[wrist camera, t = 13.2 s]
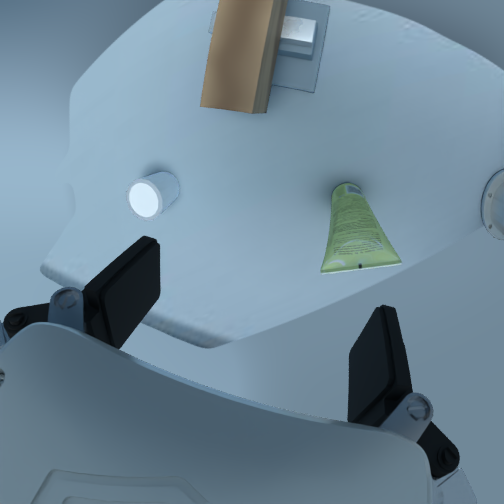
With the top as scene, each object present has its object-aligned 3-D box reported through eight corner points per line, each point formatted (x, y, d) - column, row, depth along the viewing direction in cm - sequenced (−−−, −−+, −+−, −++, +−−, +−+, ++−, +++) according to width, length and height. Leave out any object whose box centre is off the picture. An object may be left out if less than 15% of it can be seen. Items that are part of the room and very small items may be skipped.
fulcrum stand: (329, 9, 26) (330, -14, 19) (313, 93, 33) (312, 87, 26) (233, -2, 28) (213, -23, 20) (217, 78, 35) (193, 72, 28)
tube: (347, 223, 41) (359, 304, 25) (321, 203, 41) (319, 274, 24) (370, 196, 38) (403, 264, 22) (344, 174, 38) (363, 229, 21)
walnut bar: (296, -42, 17) (289, -71, 11) (266, 112, 29) (252, 113, 23) (254, -45, 18) (239, -71, 12) (224, 106, 29) (200, 106, 23)
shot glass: (177, 212, 47) (157, 228, 41) (145, 196, 47) (122, 211, 41) (187, 176, 44) (166, 188, 38) (153, 162, 44) (129, 172, 38)
